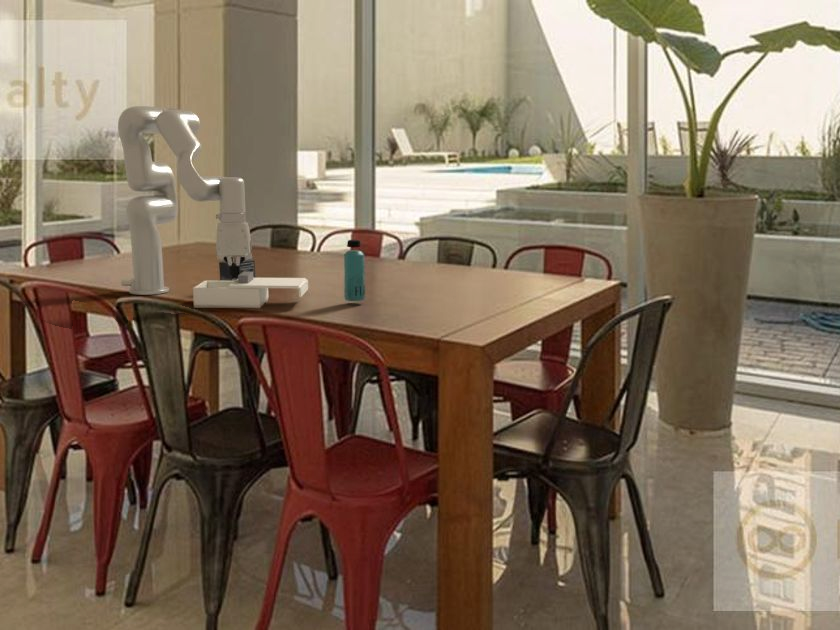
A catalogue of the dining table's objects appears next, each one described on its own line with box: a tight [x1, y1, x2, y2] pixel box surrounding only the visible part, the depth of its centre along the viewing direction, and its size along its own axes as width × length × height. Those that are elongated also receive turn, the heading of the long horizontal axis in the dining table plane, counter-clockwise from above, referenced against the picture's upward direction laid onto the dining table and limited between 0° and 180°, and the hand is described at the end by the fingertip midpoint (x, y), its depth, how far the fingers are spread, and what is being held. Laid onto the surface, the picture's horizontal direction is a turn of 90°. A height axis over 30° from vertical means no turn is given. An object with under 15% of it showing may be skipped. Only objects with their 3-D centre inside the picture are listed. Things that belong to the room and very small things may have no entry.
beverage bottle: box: [343, 239, 366, 302], centre depth 274 cm, size 6×7×20 cm
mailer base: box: [192, 280, 269, 309], centre depth 275 cm, size 20×14×6 cm
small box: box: [218, 258, 256, 281], centre depth 297 cm, size 11×6×10 cm, turn 141°
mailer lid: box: [229, 272, 309, 298], centre depth 274 cm, size 22×15×6 cm
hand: (235, 277), depth 274 cm, fingers closed
